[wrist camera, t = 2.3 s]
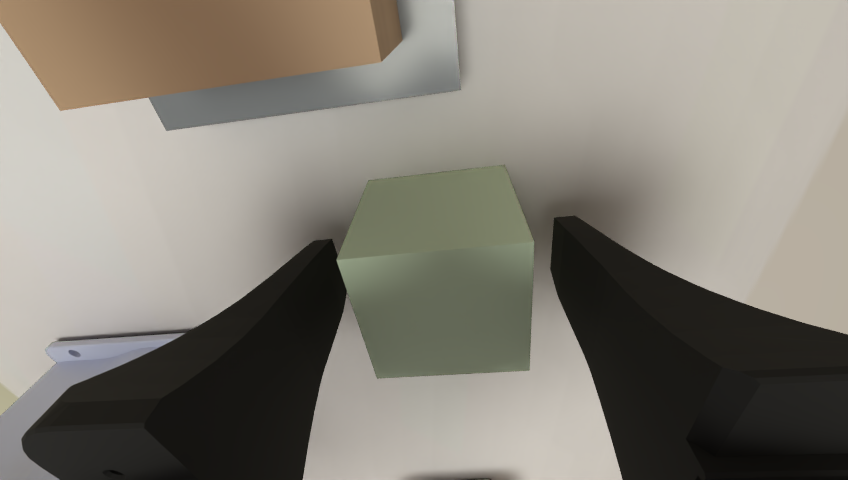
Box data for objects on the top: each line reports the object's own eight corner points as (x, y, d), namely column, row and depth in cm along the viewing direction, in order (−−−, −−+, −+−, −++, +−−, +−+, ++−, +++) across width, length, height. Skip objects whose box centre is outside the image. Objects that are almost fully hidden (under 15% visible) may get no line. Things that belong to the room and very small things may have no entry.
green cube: (393, 281, 14) (376, 378, 11) (368, 179, 12) (336, 259, 8) (505, 272, 14) (529, 370, 10) (504, 163, 12) (534, 242, 8)
